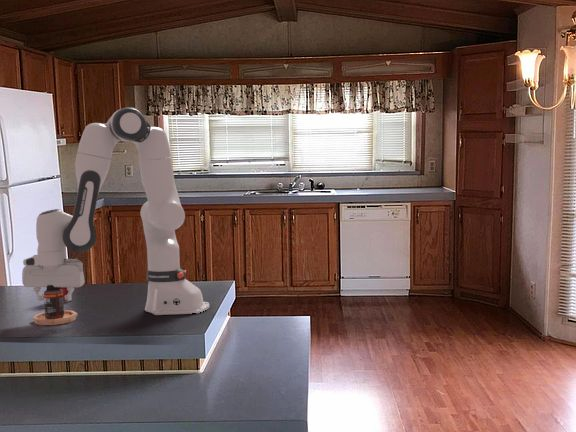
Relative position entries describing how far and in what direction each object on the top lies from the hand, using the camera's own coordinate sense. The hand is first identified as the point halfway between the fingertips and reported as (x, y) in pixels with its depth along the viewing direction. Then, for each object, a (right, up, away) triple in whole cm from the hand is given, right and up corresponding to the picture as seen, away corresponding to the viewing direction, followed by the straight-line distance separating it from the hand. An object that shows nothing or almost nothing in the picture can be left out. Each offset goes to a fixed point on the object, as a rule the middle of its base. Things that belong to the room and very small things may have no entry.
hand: (54, 300), depth 202 cm
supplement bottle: (0, -6, 0) cm, 6 cm away
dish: (0, -7, +1) cm, 7 cm away
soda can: (-9, -5, +29) cm, 31 cm away
